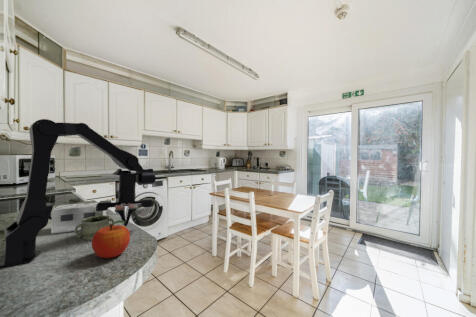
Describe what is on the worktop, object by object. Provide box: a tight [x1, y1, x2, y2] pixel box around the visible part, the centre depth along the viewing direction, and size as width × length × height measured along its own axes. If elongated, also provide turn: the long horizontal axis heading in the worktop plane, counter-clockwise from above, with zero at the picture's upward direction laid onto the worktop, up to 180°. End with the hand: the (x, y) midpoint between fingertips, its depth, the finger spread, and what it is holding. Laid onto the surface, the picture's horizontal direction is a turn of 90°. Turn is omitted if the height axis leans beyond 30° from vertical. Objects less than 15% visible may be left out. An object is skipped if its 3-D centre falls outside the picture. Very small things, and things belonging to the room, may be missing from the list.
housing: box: [50, 202, 107, 235], centre depth 78 cm, size 8×16×9 cm, turn 117°
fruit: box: [91, 219, 131, 259], centre depth 56 cm, size 10×10×10 cm
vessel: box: [74, 215, 115, 240], centre depth 70 cm, size 12×9×6 cm
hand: (125, 225), depth 74 cm, fingers closed
